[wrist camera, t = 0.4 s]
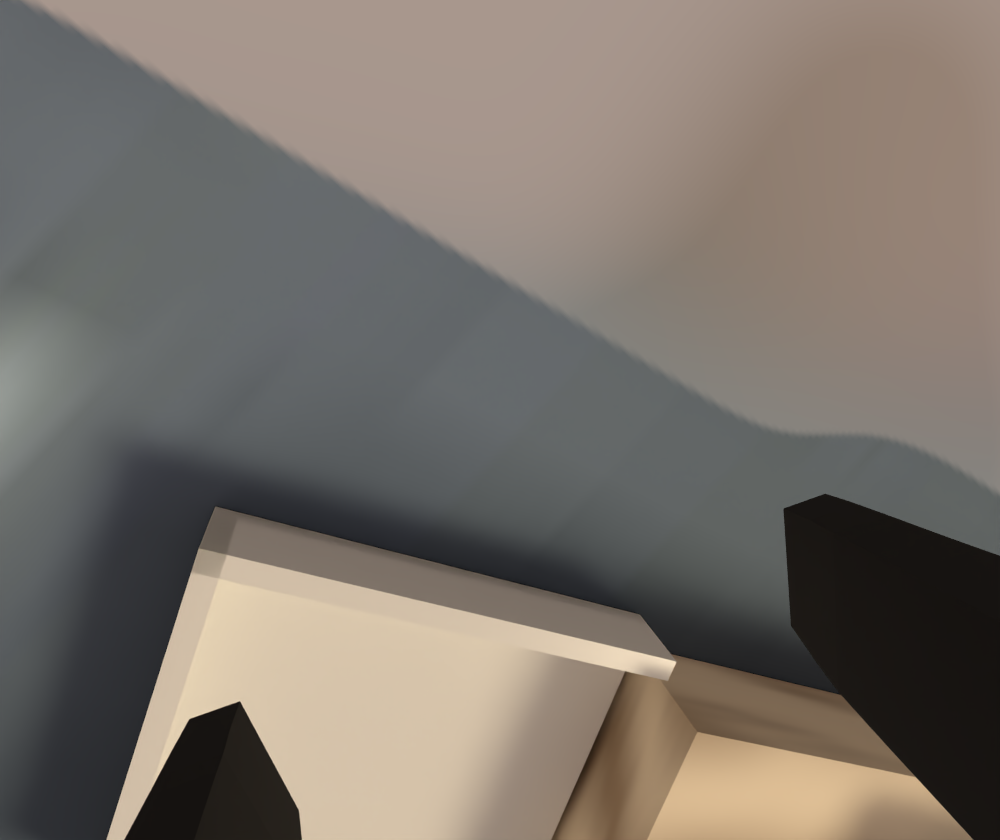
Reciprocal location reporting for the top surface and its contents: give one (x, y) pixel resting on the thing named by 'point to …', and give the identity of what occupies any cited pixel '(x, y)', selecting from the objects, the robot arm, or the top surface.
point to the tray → (390, 684)
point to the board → (743, 766)
